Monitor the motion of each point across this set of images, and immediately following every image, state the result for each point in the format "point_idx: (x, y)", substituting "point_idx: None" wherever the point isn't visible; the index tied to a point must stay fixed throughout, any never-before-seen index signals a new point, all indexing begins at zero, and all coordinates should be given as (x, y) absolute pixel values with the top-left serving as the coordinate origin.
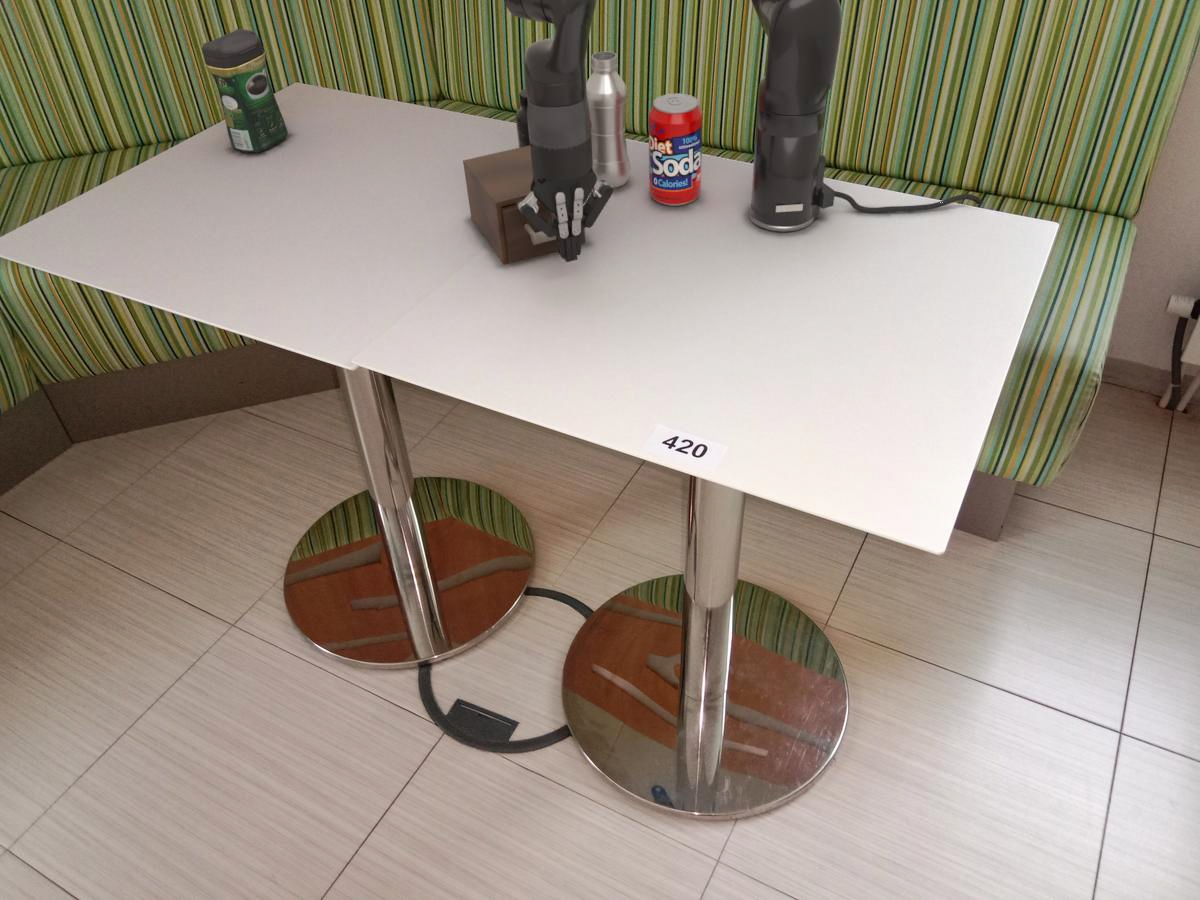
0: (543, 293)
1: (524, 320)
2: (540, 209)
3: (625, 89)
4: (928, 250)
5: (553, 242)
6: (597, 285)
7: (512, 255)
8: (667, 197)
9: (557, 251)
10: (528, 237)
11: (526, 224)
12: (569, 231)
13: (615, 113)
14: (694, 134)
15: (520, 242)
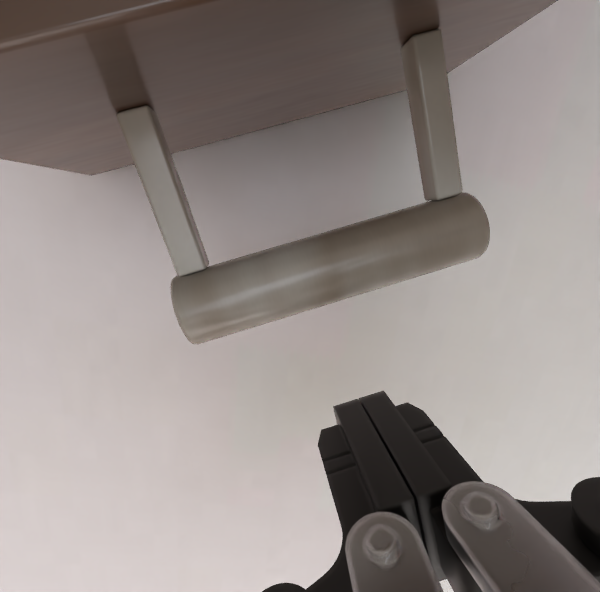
0: (232, 374)
1: (166, 502)
2: (261, 28)
3: None
4: None
5: (304, 110)
6: (408, 354)
7: (94, 168)
8: None
9: (319, 447)
10: (167, 129)
11: (135, 112)
12: (444, 557)
13: None
14: None
15: (120, 148)
